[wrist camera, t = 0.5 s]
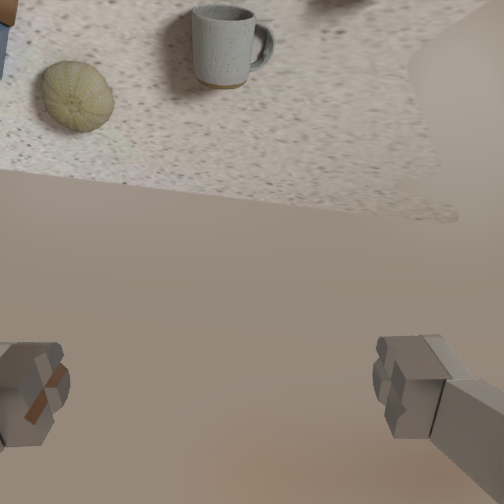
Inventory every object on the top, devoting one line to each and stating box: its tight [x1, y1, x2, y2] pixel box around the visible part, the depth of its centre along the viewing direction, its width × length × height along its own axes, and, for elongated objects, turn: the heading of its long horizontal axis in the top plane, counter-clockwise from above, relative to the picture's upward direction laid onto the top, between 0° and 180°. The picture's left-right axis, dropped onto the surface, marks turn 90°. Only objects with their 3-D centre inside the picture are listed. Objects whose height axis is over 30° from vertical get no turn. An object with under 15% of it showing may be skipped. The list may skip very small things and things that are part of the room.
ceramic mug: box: [191, 4, 275, 89], centre depth 47 cm, size 11×8×8 cm
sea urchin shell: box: [41, 61, 114, 132], centre depth 51 cm, size 9×8×8 cm
